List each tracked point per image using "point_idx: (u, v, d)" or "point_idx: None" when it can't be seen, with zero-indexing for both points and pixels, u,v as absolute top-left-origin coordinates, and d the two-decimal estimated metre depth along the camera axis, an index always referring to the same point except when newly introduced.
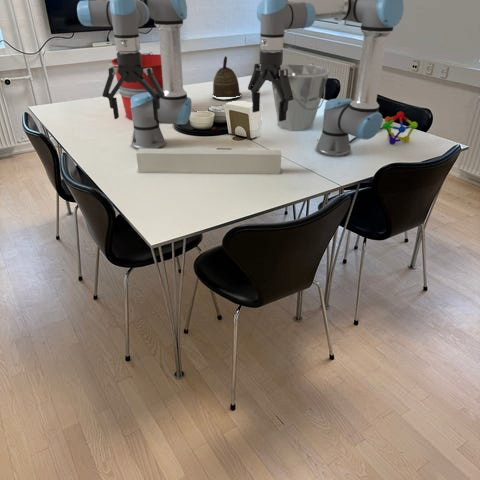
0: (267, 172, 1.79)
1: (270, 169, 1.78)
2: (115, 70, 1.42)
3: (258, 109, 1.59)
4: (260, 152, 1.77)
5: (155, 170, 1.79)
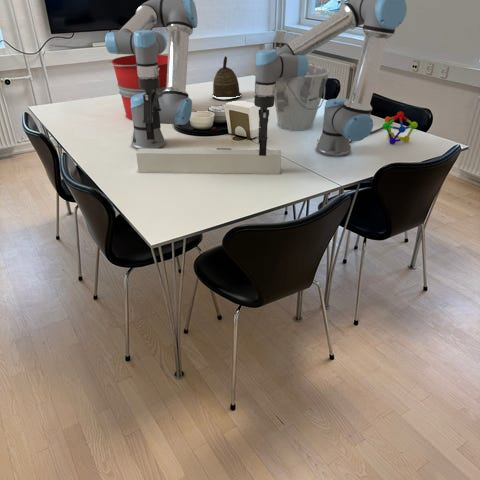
0: (267, 172, 1.79)
1: (270, 169, 1.78)
2: None
3: None
4: None
5: (155, 170, 1.79)
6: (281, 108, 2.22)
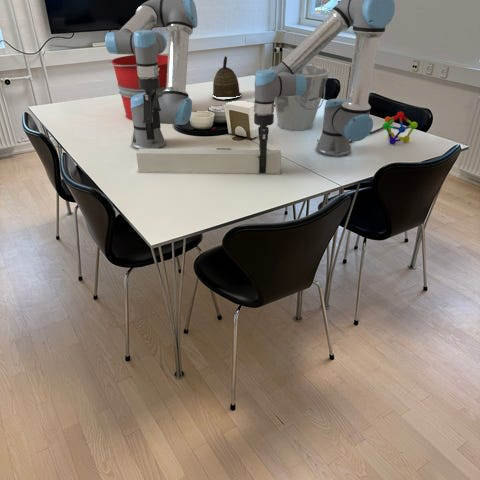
0: (267, 172, 1.79)
1: (270, 169, 1.78)
2: None
3: None
4: None
5: (155, 170, 1.79)
6: (281, 108, 2.22)
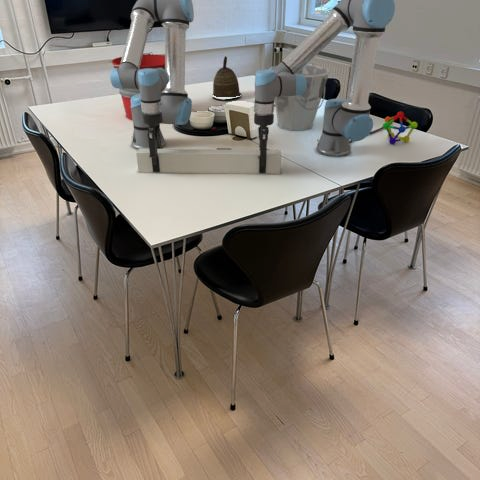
0: (267, 172, 1.79)
1: (270, 169, 1.78)
2: (152, 132, 1.69)
3: None
4: None
5: None
6: (281, 108, 2.22)
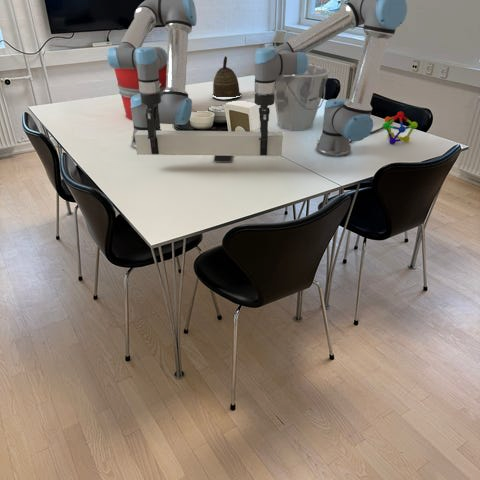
0: (268, 154, 1.75)
1: (271, 151, 1.74)
2: (150, 113, 1.65)
3: None
4: None
5: None
6: (281, 108, 2.22)
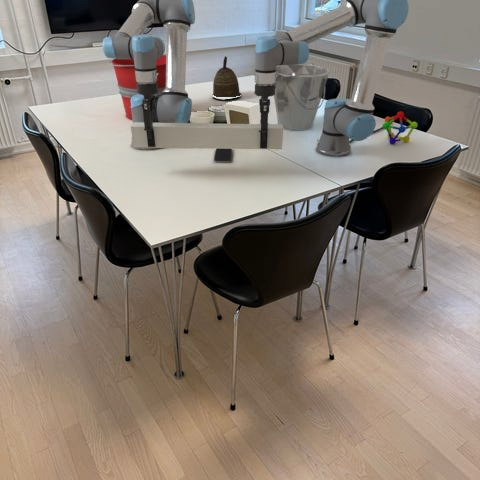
0: (268, 147, 1.70)
1: (272, 145, 1.69)
2: (147, 103, 1.60)
3: None
4: None
5: None
6: (281, 108, 2.22)
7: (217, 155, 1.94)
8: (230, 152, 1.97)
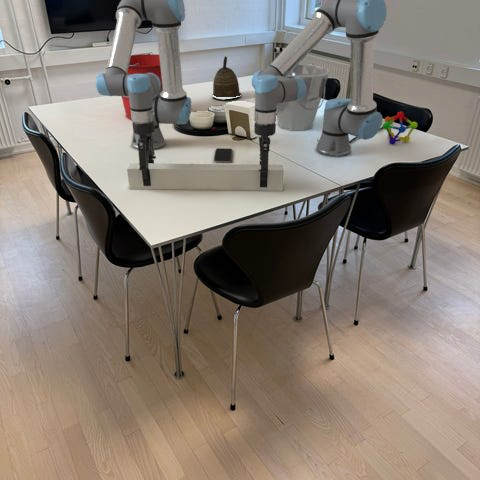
0: (268, 188, 1.66)
1: (272, 186, 1.65)
2: (143, 142, 1.54)
3: None
4: None
5: (147, 187, 1.66)
6: (281, 108, 2.22)
7: (217, 155, 1.94)
8: (230, 152, 1.97)
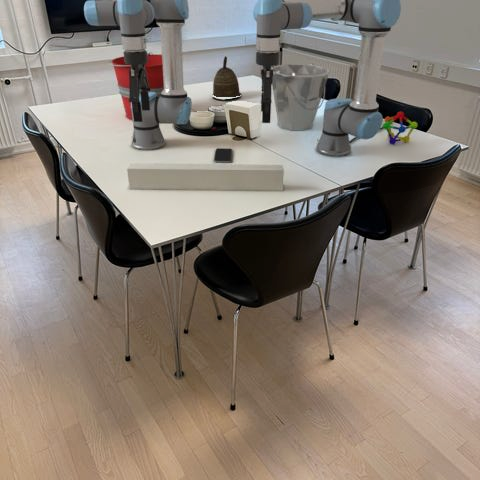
0: (268, 188, 1.66)
1: (272, 186, 1.65)
2: None
3: None
4: (261, 167, 1.63)
5: (147, 187, 1.66)
6: (281, 108, 2.22)
7: (217, 155, 1.94)
8: (230, 152, 1.97)
